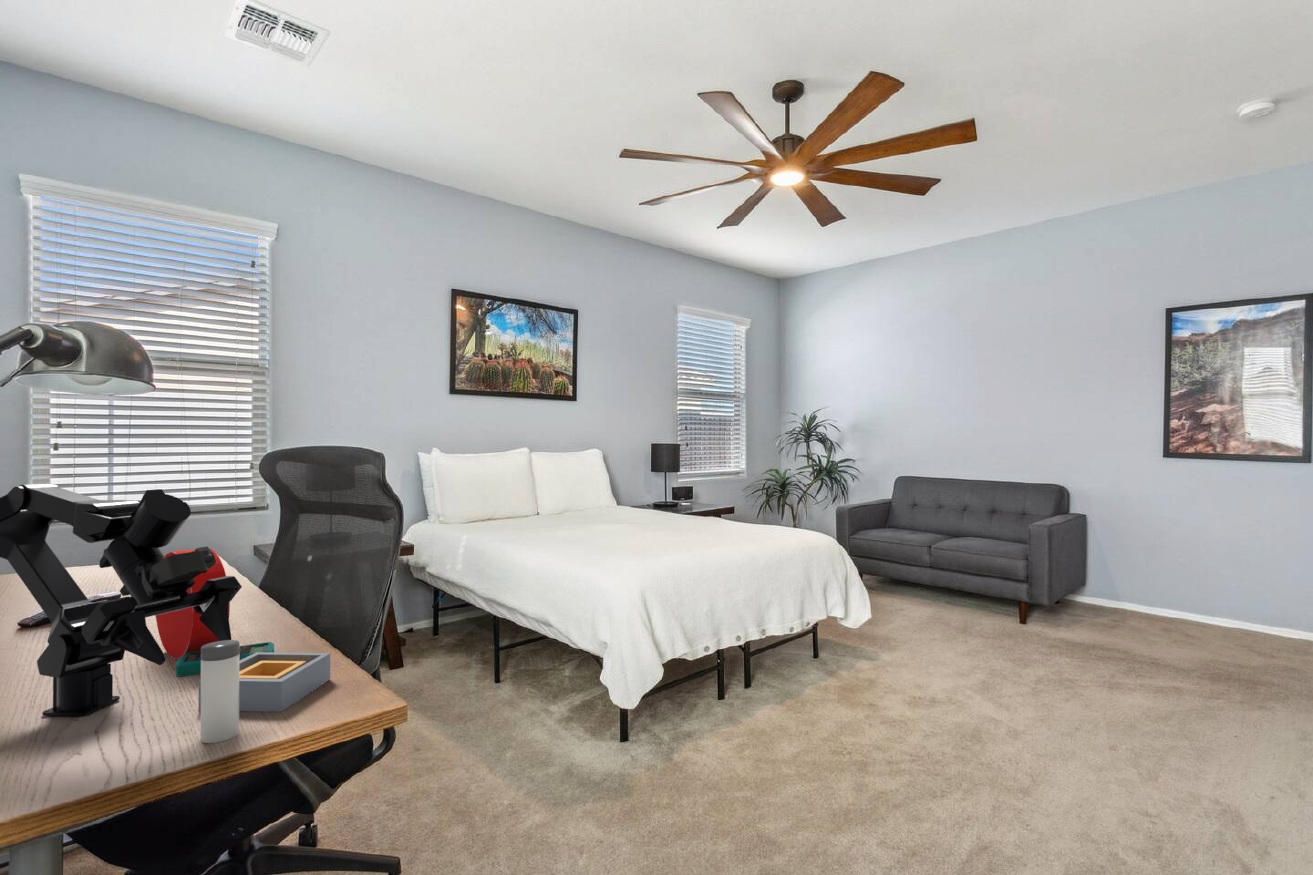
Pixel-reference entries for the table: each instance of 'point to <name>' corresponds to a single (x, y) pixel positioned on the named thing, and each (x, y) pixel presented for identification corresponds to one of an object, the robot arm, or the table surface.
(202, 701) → the grey capped shaker bottle
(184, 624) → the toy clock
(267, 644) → the digital multimeter
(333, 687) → the table surface
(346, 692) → the table surface
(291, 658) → the box
